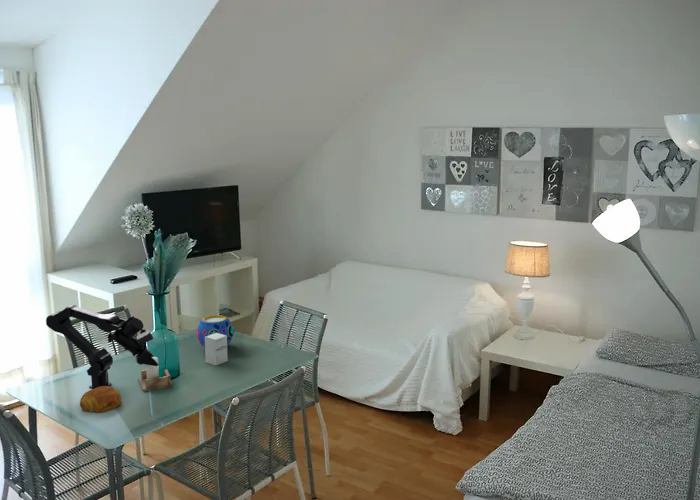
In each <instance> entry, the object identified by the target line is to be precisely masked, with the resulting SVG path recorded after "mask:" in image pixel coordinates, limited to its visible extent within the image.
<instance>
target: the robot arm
mask: <svg viewBox="0 0 700 500" xmlns="http://www.w3.org/2000/svg"><path fill="white" fill-rule="evenodd" d="M71 318H74V319H77V320H80V321H83V322H86V323H88V324H93V325H95V326H97V329H99V330H101V331H102V332H105V333H108V335H107V341H108V343H111V342H112V341H114V342H115V343H116V344H117V345H120V347H122V348H123V349H124V351H128V352H129V353H130V354H131V355H132V356H133V357H135V362H136V363H137V364H139V366H141V365H145V366H146V365H152V366H158V367H159V362H158V363H157V362H156V361H155V360H154V359H153V358H152V357H153V356H154V355H152V354H153V353H152V352H151V350H149V349H148V346H146V344H147V343H148V342H150V341H153V340H154V336H153V334H152V332H151V331H150V330H149V329H145V328H144V327H145V326H144V323H143V321H142V320H141V319H139V318H137V317H135V316H134V315H131V316H129V317H128V318H127V319H124V318H121V317H120V316H118V315H117V314H111V313H105V314H103V313H99V312H96V311H92V310H89V309H86V308H83V307H80V306H77V305H76V304H71V305H69V306H66V307H65V308H64V309H62V310H60V311H56V312H54V313H52V314H50V315H48V316H47V317H46V319H45V325H46V326H47V327H48V328H49V329H50V330H52V332H56V333H59V334H62V335H63V336H64V337H65V338H66V339H67V340H68V341H70V343H72V345H74V346H75V347H76V348H77V349H78V350H79V351H80V352H81V353H82V354H83V355H85V356H86V358H87V360H88V364H89V365H90V367H89V368H88V369H86V373H87V375H88V376H90V377H91V385H89V386H88V388H89V389H95V388H97V387H100V386H109V387H110V385H112V382H110V381H109V373H108V370H110V369H111V366H112V365H113V362H114V358H113V356H112V353H111V352H109V351H108V350H107V348H105V347H103V348H101V349H100V348H97V347H96V346H95V345H94V344H92V342H91V341H89V340H88V338H86V337H85V336H84V335H83V334H82V333H80V331H79V330H78V329H77V328H75V327H74V326H73V323H72V321H71ZM112 331H114V332H112ZM138 333H139V334H138ZM137 334H138V335H137ZM136 335H137V336H136Z"/></svg>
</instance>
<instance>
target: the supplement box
mask: <svg viewBox="0 0 700 500" xmlns="http://www.w3.org/2000/svg"><path fill="white" fill-rule="evenodd" d="M204 349H205V352H204V354H205V363H206V364H210V365H213V366H215V367H216V366H218V365H221V364H224V363H226V362H228V361H229V359H228V358H229V357H228V345H227V336H226V335H223V334H219V333H215V334H212V335H209V336H206V337H205V347H204Z"/></svg>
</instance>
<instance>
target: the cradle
mask: <svg viewBox="0 0 700 500" xmlns="http://www.w3.org/2000/svg"><path fill="white" fill-rule="evenodd" d="M140 376H141V377H138V378H137V381H138V383H139V385H140V388H141V391H142V392H148V391H154V390H156V391H157V390H160V389H165V388H172V387H173V382H172V380H171V379H172V378H171V374H170V373H169V370H168V368H167V369H166V370H164V376H163V377H157V378H151V379H147V373H146V368H145V369H142V370H141V369H140Z"/></svg>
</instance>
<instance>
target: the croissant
mask: <svg viewBox="0 0 700 500" xmlns="http://www.w3.org/2000/svg"><path fill="white" fill-rule="evenodd" d="M120 405H122V398H121V393H120V391H119V390H118V389H116V388H114V387H111V386H110V385H109V386H100V387H97V388H95V389H94V388H91V389H90V390H87V391H86V392H85V393H83V395H82V396H81V398H80V401H79V407H80V408H81V409H82V410H83V411H86V412H91V413H92V412H93V413H95V414H99V413H104V412H108V411H111V410H114V409H116V408H117V407H118V406H120Z"/></svg>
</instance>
